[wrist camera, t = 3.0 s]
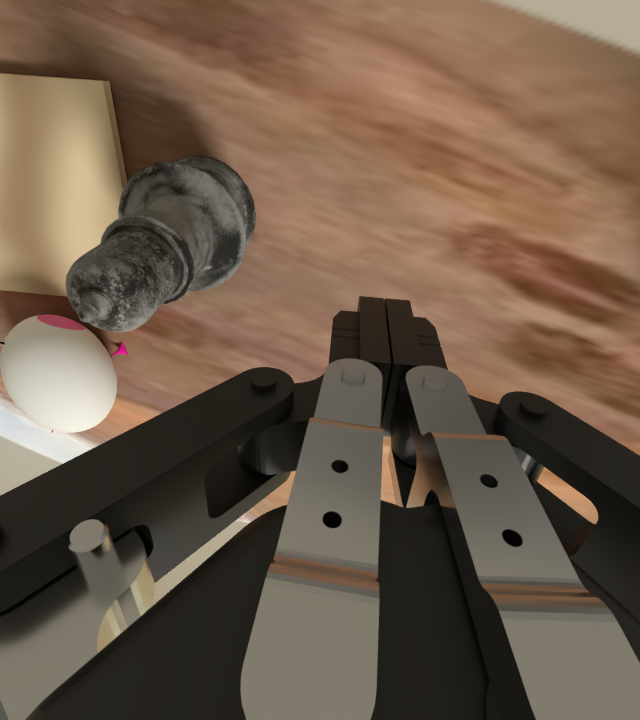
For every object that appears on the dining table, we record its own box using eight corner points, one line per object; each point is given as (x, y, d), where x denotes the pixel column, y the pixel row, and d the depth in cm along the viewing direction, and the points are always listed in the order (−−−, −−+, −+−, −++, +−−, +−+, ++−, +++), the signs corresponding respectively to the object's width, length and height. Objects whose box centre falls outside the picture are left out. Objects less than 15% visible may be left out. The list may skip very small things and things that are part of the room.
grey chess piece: (131, 164, 22) (-69, 241, 12) (241, 137, 20) (124, 195, 11) (176, 273, 25) (50, 407, 15) (274, 254, 24) (208, 386, 14)
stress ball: (65, 282, 29) (-47, 323, 25) (121, 299, 25) (-8, 353, 20) (109, 375, 33) (17, 423, 29) (164, 406, 28) (63, 469, 24)
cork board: (109, 81, 20) (102, 81, 19) (147, 299, 26) (143, 303, 25) (-100, 65, 20) (-112, 65, 20) (-13, 284, 26) (-21, 288, 26)
